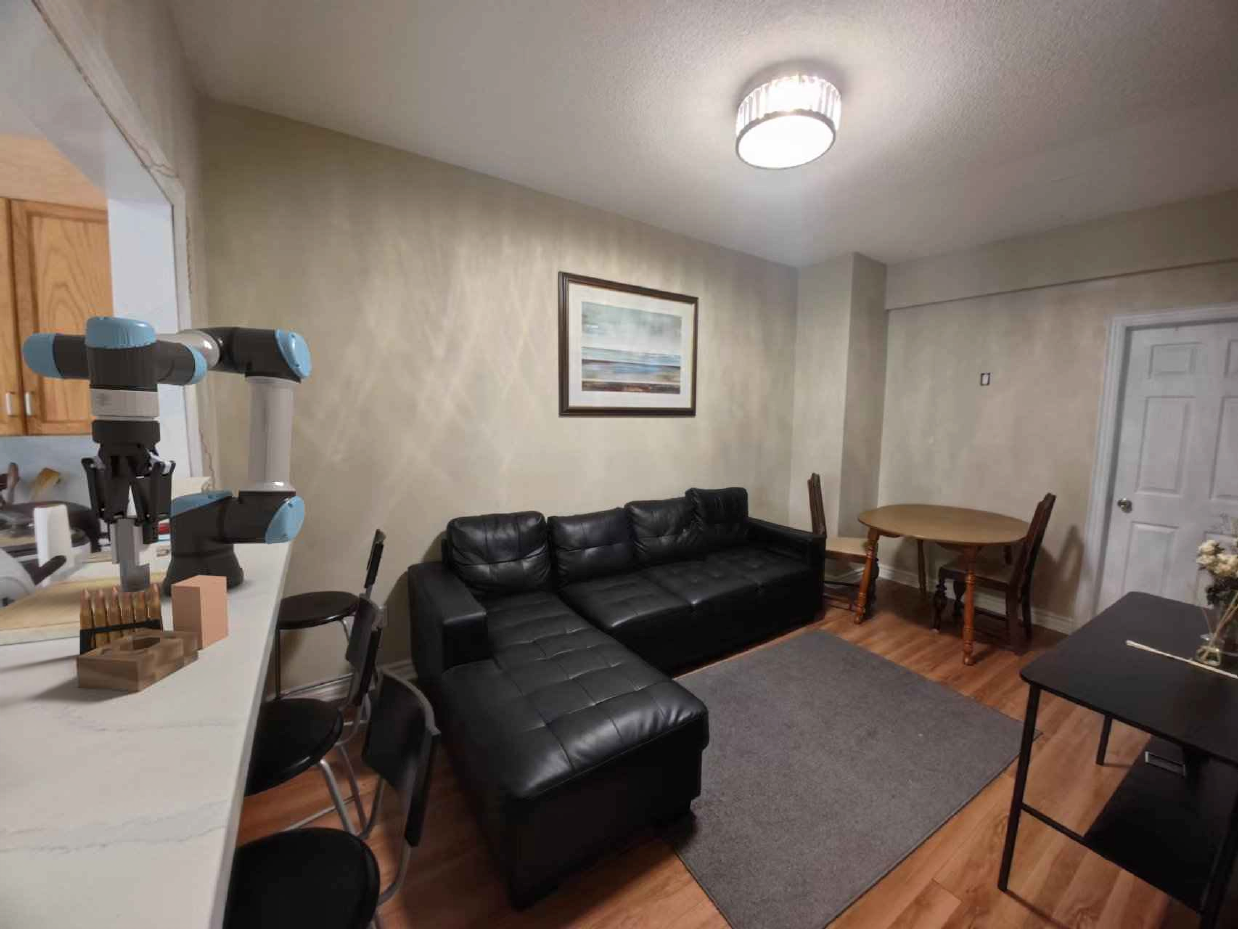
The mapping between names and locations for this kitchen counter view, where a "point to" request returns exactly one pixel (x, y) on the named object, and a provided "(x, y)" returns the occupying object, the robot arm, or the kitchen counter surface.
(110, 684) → the bore block
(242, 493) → the robot arm
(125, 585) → the round peg
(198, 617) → the square peg
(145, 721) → the kitchen counter surface
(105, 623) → the ammunition clip
